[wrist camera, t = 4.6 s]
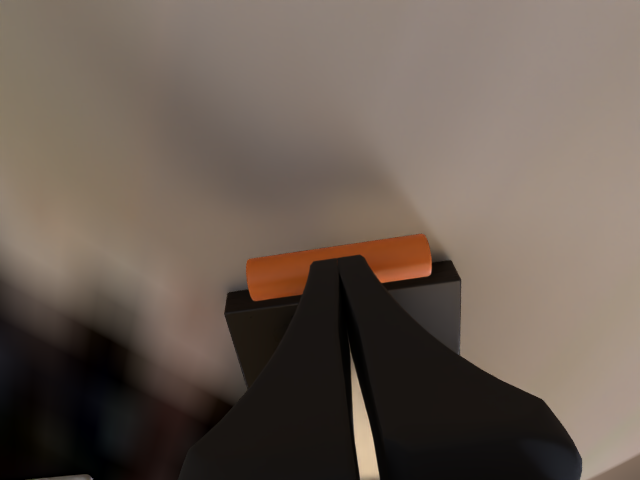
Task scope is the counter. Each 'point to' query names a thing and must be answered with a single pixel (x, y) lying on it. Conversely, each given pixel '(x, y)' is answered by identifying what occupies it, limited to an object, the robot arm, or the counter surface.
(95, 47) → the counter surface
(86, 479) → the medicine bottle
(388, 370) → the robot arm
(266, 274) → the switch lever
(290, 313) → the switch bracket
